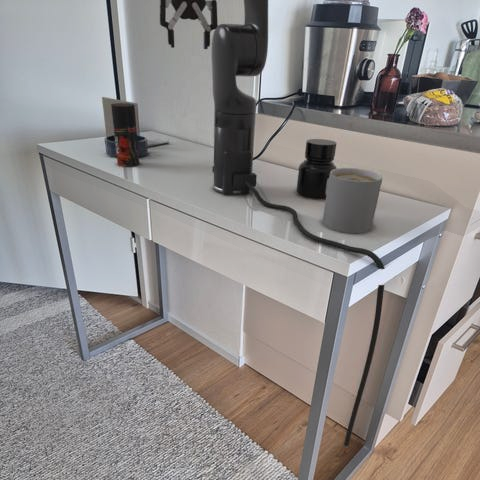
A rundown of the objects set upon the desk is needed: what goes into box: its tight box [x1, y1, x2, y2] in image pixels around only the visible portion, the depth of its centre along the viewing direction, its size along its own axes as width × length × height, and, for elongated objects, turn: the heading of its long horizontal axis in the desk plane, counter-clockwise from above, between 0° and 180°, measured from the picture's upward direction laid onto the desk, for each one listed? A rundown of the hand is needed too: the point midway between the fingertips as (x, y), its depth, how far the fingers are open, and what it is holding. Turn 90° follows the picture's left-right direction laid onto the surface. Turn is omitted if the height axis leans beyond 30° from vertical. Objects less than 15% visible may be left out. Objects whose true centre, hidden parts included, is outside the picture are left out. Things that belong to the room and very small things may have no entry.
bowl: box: [104, 135, 149, 159], centre depth 130 cm, size 12×12×4 cm
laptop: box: [101, 96, 170, 148], centre depth 143 cm, size 18×12×13 cm
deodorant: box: [111, 103, 140, 168], centre depth 117 cm, size 6×6×15 cm
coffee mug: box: [321, 167, 383, 234], centre depth 87 cm, size 13×10×10 cm
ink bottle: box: [296, 138, 338, 200], centre depth 102 cm, size 10×9×12 cm
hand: (189, 48), depth 111 cm, fingers open, 8 cm apart
